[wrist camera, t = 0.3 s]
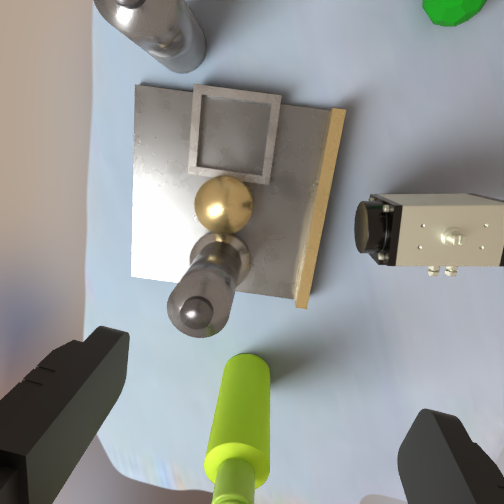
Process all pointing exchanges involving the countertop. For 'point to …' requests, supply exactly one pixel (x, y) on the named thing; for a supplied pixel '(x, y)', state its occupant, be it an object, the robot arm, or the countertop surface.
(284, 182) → the carrier plate
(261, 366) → the soap dispenser
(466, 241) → the pneumatic valve
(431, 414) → the robot arm
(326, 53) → the countertop surface
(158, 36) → the cylinder
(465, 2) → the polyhedron
